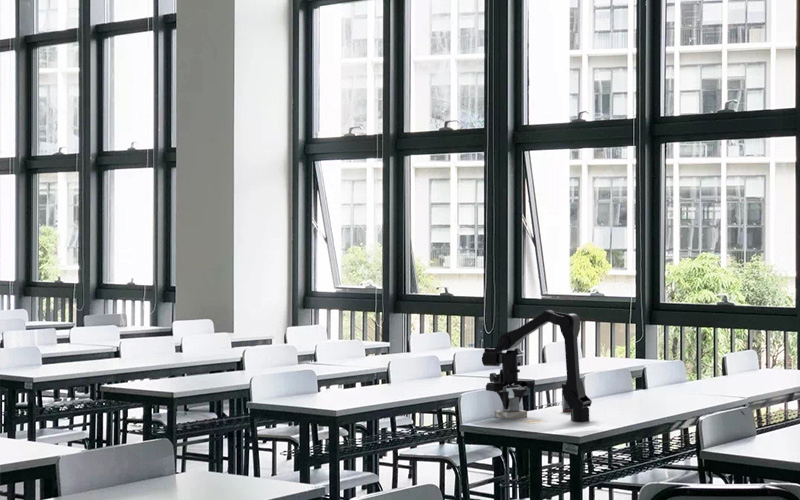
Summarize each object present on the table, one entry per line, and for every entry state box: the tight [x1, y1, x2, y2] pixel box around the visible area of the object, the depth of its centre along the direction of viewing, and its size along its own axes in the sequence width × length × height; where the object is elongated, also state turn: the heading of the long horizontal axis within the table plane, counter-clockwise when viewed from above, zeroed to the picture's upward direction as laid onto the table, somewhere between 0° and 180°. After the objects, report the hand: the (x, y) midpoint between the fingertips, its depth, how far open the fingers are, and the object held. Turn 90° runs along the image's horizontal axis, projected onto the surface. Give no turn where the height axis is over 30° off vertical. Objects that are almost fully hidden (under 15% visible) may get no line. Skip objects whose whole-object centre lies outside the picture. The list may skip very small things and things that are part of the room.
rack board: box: [492, 409, 528, 420], centre depth 393 cm, size 18×12×4 cm, turn 30°
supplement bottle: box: [561, 389, 571, 413], centre depth 416 cm, size 6×6×11 cm
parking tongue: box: [520, 419, 547, 425], centre depth 381 cm, size 7×7×2 cm
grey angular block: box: [502, 395, 520, 412], centre depth 395 cm, size 4×4×5 cm
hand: (510, 408), depth 394 cm, fingers closed on grey angular block, 4 cm apart
